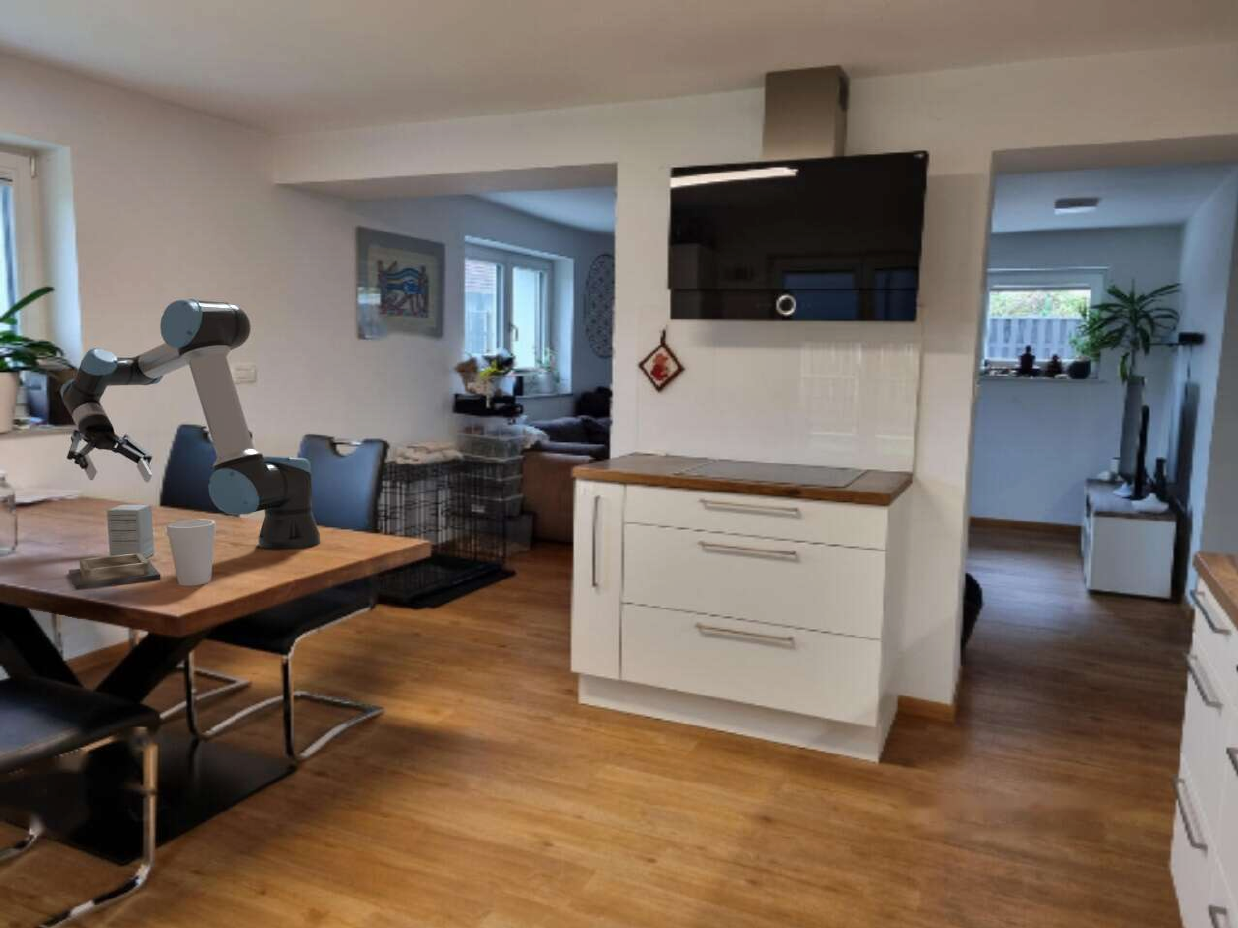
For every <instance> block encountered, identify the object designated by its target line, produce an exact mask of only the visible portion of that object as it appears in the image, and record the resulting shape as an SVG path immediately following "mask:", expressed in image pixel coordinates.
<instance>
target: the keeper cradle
mask: <svg viewBox="0 0 1238 928" xmlns="http://www.w3.org/2000/svg"><path fill="white" fill-rule="evenodd" d="M68 575H69V577H70V580H71V582H72V585H73V587H74V589H75V591H78V590H79V591H80V590H86V589H95V588H96V589H97V588H103V587H110V586H111V587H112V586H117V585H124V584H126V585H127V584H133V583H141V582H149V581H157V580H162V577H161V575H162V574H161V573H160V572H159V570H157V568H156V567H155V566H154V565H153V563H152V562H150V560H147V559H145V558H144V557H143V556H142V555H141V553H134V554H126V555H117V556H110V555H109V556H100V557H92V558H83V559H79V568H76V569H69V570H68Z"/></svg>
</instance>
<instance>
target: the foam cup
mask: <svg viewBox="0 0 1238 928" xmlns="http://www.w3.org/2000/svg"><path fill="white" fill-rule="evenodd" d="M166 533H167V537H168V540H169V544H170V549H171V554H172V559H173V563H174V569H175V574H176V578H177V581H178V582H177V583H178V585H180V586H185V587H186V586H189V587H190V586H198V585H199V586H200V585H204V584H207V583H210V582H211V580H212V571H213V563H214V562H213V560H214V551H215V550H214V548H215V540H216V539H215V537H216V533H217V523H216V521H215V520H213V519H202V518H201V519H198V518H197V519H196V518H195V519H185V520H177V521H176V520H175V521H173V522H169V523H168V524H166Z"/></svg>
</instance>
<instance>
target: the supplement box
mask: <svg viewBox="0 0 1238 928" xmlns="http://www.w3.org/2000/svg"><path fill="white" fill-rule="evenodd" d="M152 512H153V511H152V505H151V504H120V505H118V506H115V507H112V508H110V509H107V510H106V516H107V517H106V519H107V531H108V532H107V533H108V544H109V545H108V548H109V556H117V555H126V554H134V553H141V555H142V556H143V557H144V558H145V560H147V558H149V557H152V556H153V555H155V545H154V544H155V543H154V531H153V530H154V528H153V526H154V525H153V514H152Z"/></svg>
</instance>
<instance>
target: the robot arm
mask: <svg viewBox="0 0 1238 928" xmlns="http://www.w3.org/2000/svg"><path fill="white" fill-rule="evenodd" d="M159 326H160V327H159V328H160V335H161V337H162V339H163V342H164V343H162V344H160V345H158V346H156V347H154V348H151V349H149V350H147V351H145V352H143V353H141V354H138V355H136V356H134V357H133V356H132V357H117V356H116V355H115V354H114V353H112V352H111V351H110V350H107V349H102V348H101V347H100V348H99V347H95V348H94V347H93V348H90V349H88V350H87V352H86V353H85V355H84V357H83V358H82V359H81V362H80V364H79V367H78V370H77V372H76V374H75V376H74V378H73V379H72V378H71V379H70V380H67V382H65V383H63V384H62V385H61V387H60V396H61V399H62V402H63V404H64V406H65V407H66V409H67V411H68V412H69V414H70V416H71V418H72V419H73V423H74V424H75V425H76V428H77V429H74V430H73V432H72V434H71V436H70V441H71V444H70V447H69V449H68V453H67V456H66V460H69V461H71V460H74V461H73V463H74V464H76V465H79V467H80V468H81V470H84V473H86V475H87V477H88V479H89V481H94V479H95V477H96V475H97V474H98V471H97V469H96V467H95V465H94V463H93V462H92V459H91V457H90V456H89V454H90V453H91V452H93V450H94V449H97V450H106V451H112V452H114V453H116V454H120V455H121V456H123V457H124V458H127V459H129V460H130V461H132V462H134V463H135V464H136V468H137V469H138V472H139V473H140V476H141V477H142V479H143V480H144V482H145V483H149V482H150V480H151V479H152V477H153V473H152V470H151V468H152V467H151V465H150V463H151V461H152V460H153V455H152V454H151V453H149V452H148V451H147V450H146V449H144V448H143V447H142V446H140V445H139V444H138V443H137V442H136V441H135V440H133V439H132V438H131V436H130V435H129V434H126V433H125V434H124V435H123V436H119V435H117V434H116V433H115V429H114V425H113V423H112V421H111V420H110V419H109V416H108V415H107V413H106V411H105V409H104V408H103V406H102V404H101V401H100V400H101V398H102V397H103V395H104V393H105V391H106V389H107V387H109V386H111V387H112V386H113V387H114V386H149V385H156V384H158V383H160V382H161V380H162V379H163V377H164V376H166V375H167V374H170V373H172V372H174V371H177V370H179V369H181V368H183V367H186V366H189V369H190V372H191V376H192V378H193V382H194V385H195V388H196V392H197V395H198V398H199V402H200V406H201V407H202V412H203V415H204V418H205V421H206V425H207V427H208V428H207V429H208V431H209V434H210V438H211V441H212V444H213V448H214V451H215V454H216V460H215V462H214V463H213V465H212V468H213V471H214V472H213V473H212V474H211V476H210V477H209V482H210V483H208V493H209V496H210V499H211V501H212V503H213V504H214V505H215V506H216V508H218V509H219V510H220V511H221V512H223V513H225V514H227V515H231V516H240V515H245V516H246V515H250V514H253V513H257V512H260V511H264V517H263V521H262V524H261V528H260V530H259V531H260V532H259V535H258V546H259V547H260V548H262V549H267V550H278V551H279V550H297V549H304V548H311V547H312V546H317V545H318V544H320V543H321V533H320V531H319V528H318V526H317V523H316V519H315V517H314V515H313V499H312V497H313V495H312V474H313V473H312V471H311V462H310V461H309V460H308V459H306V458H304V457H291V456H289V457H288V456H270V455H269V456H264V455H263V453H262V452H261V451H259V450H257V449H255V447H254V445H253V441H252V437H251V434H250V430H249V427H248V424H247V421H246V418H245V415H244V411H243V409H242V404H241V401H240V398H239V395H238V391H237V388H236V385H235V381H234V378H233V374H232V372H231V369H230V365H229V362H228V358H227V356H228V355H229V353H230V352H231V351H233V350H235V349H237V348H239V347H241V346H242V345H243V344H245V343H246V341H248V339H249V337H250V334H251V322H250V320H249V317H248V315H247V314H246V312H245V311H244V310H243V309H242V308H241V307H240V306H237V305H235V304H233V303H229V302H225V301H208V300H197V299H192V298H190V299H178V300H177V299H176V300H175V301H172V302H171V303H169V305H168V306H166V308H164V311H163V314H162V316H161V319H160V324H159ZM82 440H83V441H84V442H85V443H86V444H85V445H84V446H83V447H82V449H80V451H78V452H77V449H78V446H79V444H80V442H82Z"/></svg>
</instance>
